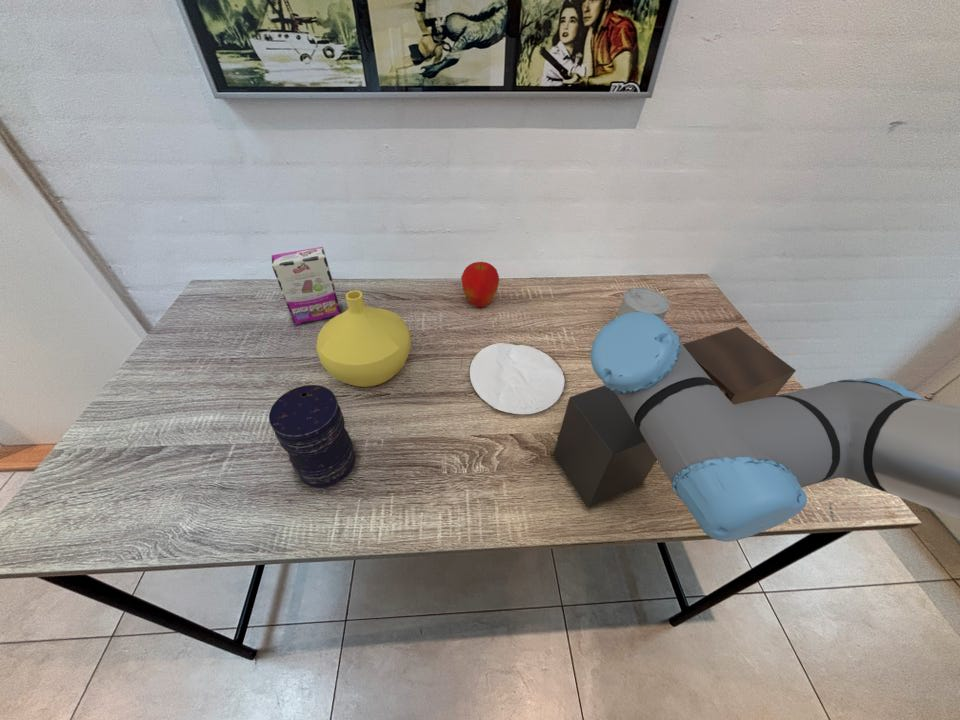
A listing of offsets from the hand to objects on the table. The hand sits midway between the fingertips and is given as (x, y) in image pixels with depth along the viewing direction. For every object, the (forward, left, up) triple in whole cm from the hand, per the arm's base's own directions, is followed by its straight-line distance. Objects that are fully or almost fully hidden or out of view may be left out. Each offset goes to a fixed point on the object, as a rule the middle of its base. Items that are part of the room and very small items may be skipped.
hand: (720, 448), depth 60 cm
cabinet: (+15, -22, -13) cm, 30 cm away
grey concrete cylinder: (+34, -15, -13) cm, 40 cm away
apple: (+61, +12, -13) cm, 64 cm away
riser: (+9, +12, -13) cm, 20 cm away
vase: (+48, +43, -13) cm, 66 cm away
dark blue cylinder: (+28, +55, -13) cm, 63 cm away
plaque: (+34, +15, -13) cm, 40 cm away
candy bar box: (+71, +51, -13) cm, 89 cm away
